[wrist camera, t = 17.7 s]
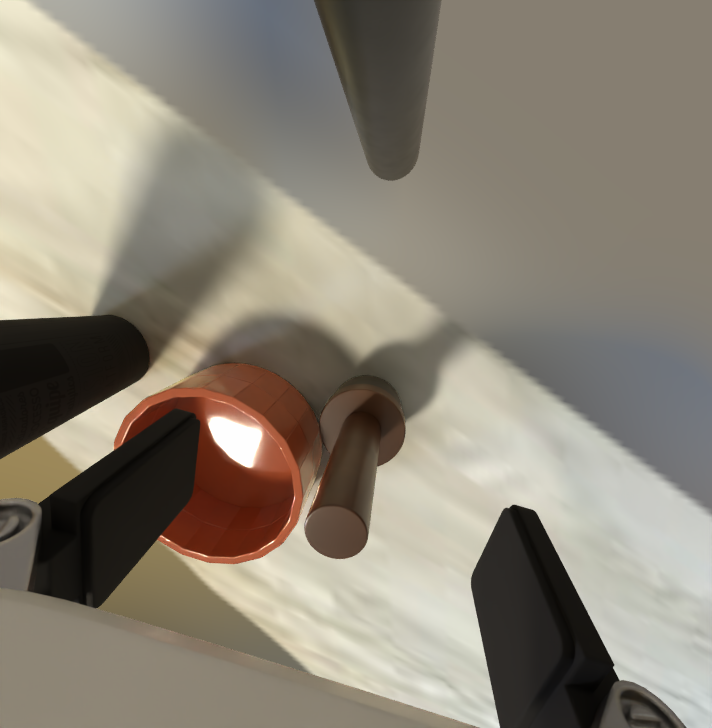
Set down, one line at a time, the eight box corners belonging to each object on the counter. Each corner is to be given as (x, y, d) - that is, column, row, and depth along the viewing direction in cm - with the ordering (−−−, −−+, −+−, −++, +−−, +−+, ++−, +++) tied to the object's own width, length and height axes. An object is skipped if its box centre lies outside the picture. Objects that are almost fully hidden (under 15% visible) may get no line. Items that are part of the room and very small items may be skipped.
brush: (339, 363, 22) (280, 452, 11) (414, 383, 22) (426, 495, 11) (322, 430, 23) (256, 566, 13) (392, 450, 23) (385, 606, 12)
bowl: (176, 343, 23) (117, 363, 18) (338, 388, 22) (321, 422, 17) (163, 483, 26) (109, 532, 21) (304, 526, 25) (281, 586, 21)
